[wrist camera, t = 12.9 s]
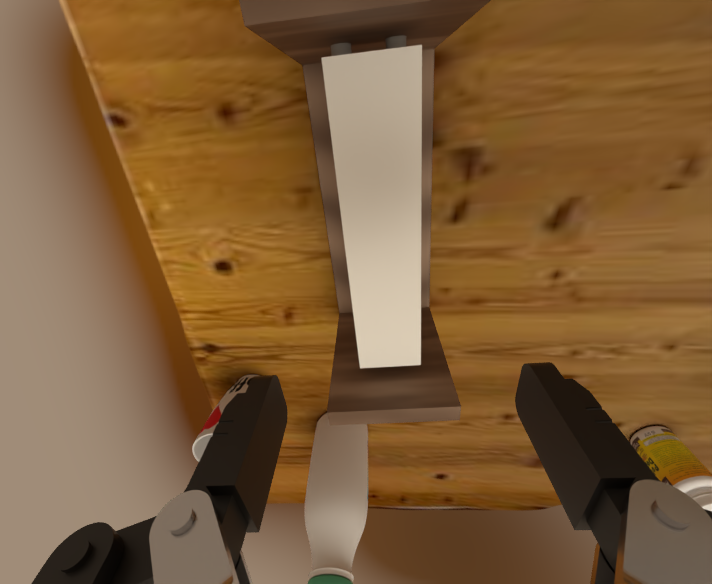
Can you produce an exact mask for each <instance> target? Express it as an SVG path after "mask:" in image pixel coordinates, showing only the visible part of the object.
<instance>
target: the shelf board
mask: <svg viewBox="0 0 712 584" xmlns="http://www.w3.org/2000/svg"><path fill="white" fill-rule="evenodd" d="M321 59H322V67H323V75H324V83H325V91H326V99H327V107H328V115H329V123H330V131H331V139H332V147H333V155H334V163H335V172H336V180H337V188H338V196H339V204H340V212H341V220H342V228H343V236H344V244H345V252H346V260H347V268H348V276H349V284H350V292H351V300H352V308H353V316H354V324H355V332H356V340H357V348H358V356H359V364H360V368H376V367H394V366H412V365H421V174H422V45H416V46H408V47H400V48H392V49H384V50H377V51H369V52H361V53H353V54H345V55H337V56H329V57H322V58H321Z"/></svg>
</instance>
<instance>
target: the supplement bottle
mask: <svg viewBox="0 0 712 584" xmlns="http://www.w3.org/2000/svg"><path fill="white" fill-rule="evenodd" d="M630 443H631V445H632V446H633V448H634V449H635V450H636V451H637V453H638V454H639V455H640V457H641V458H642V459H643V460H644V462H645V463H646V464H647V466H648V467H649V468H650V469H651V471H652V472H653V473H654V474H655V476H656V477H657V478H658V479H659V480H660V481H661V482H663V483H666V484H669V485H671V486H673V487H675V488H677V489H679V490H680V491H682V492H684V493H685V494H687V495H688V496H690V497H691V498H692V499H693V500H695V501H696V502H697V503H698V504H699V505H700V506H701V507H702V508H703V509H706V510H709V511H712V474H711V473H710V472H709V470H708V469H707V468H706V467H705V466H704V465H703V464H702V463H701V462H700V461H699V460H698V459H697V458H696V457H695V456H694V454H693V453H692V452H691V451H690V450H689V449H688V448H687V447H686V446H685V445H684V444H683V443H682V442H681V441H680V440H679V439H678V438H677V436H676V435H675V434H674V433H673V432H672V431H671V430H669V429H668V428H665V427H662V426H651V427H647V428H644V429H641V430H639V431H638V432H636V433H635V434H634V435H633V436H632V438H631V441H630Z"/></svg>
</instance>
